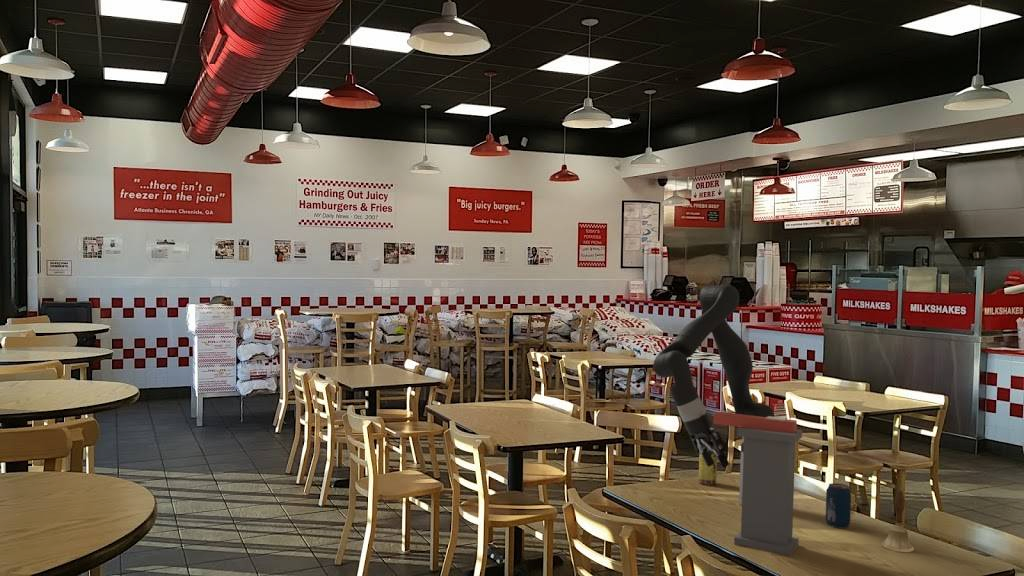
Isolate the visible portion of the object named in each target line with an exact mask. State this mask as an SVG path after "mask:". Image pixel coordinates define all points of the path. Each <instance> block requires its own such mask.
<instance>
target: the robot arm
mask: <svg viewBox="0 0 1024 576" xmlns="http://www.w3.org/2000/svg"><path fill="white" fill-rule="evenodd" d="M699 304H700V307H701V311H702V313H703V314H701V315H700V316H698V317H696V318H695V319H693V320H692V321H690V322H689V323H688V324H686V325H685V326H684V327H683V328H682V329H681V330H680V332H679V333H678V334H677V336H676V337H675V338H674V339H673V340H672V342H671V343H670V344H668V345H667V346H665V348H663V349H662V350H661V351H660V352H659V353H657V355H656V356H655V358H654V360H653V365H652V367H653V372H654V373H655V374H656V375H657V376H658V377H659V378H662V379H663V378H670V377H673V380H674V384H672V385H671V387H670V388H669V392H670V394H671V397H672V399H673V401H674V403H675V406H676V408H677V410H678V413H679V416H680V418H681V420H682V423H683V424H684V427H685V428H686V430H687V433H688V435H689V438H690V440H691V442H692V445H693V448H694V451H695V452H696V453H697V454H701V455H702V456H703V458H704V460H705V462H706V464H707V466H711V465H713V464H714V461H713V459H712V457H711V455H710V453H709V452H708V449H709V450H710V451H713V452H714V453H715V454H716V455H717V461H718V462H719V464H720V465H721V468H726V467H728V466H730V462H729V461H728V458H727V455H726V454H725V452H726V451H728V448H727V446H726V445H725V443H724V440H723V439H722V437H721V435H720V432H719V431H715V432H714V433H712V431H711V430H710V428H712V427H713V425H714V424H713V421H712V419H711V417H710V415H709V413H708V411H707V408H706V407H705V405H704V403H703V401H702V399H701V397H700V396H699V394H698V392H697V390H696V389H697V388H695V386H694V384H693V377H692V373H691V367H690V362H689V360H688V358H690V357H692V356H693V354H695V353H696V351H697V350H698V349H699V347H701V344H702V343H703V342H704V341H705V339H706V338H707V337H708V336H710V335H711V334H712V337H713V340H714V343H715V346H716V349H717V352H718V355H719V359H720V362H721V365H722V368H723V371H724V374H725V377H726V380H727V385H728V388H729V391H730V395H731V398H732V404H733V410H734V414H742V415H751V416H760V417H768V416H772V417H776V416H775V412H774V409H773V408H772V407H771V406H770V405H768V404H765V403H760V402H759V403H758V402H755V401H754V400H753V398H752V395H751V391H750V381H751V377H752V374H753V367H754V366H753V360H752V357H751V354H750V350H749V348H748V345H747V344H746V343H745V342H744V340H743V339H742V338H741V336H740V335H738V334H737V332H736V331H734V329H732V327H731V325H729V323H728V321H727V318H728V317H730V316H731V315H732V314H733V313H735V311H736V310H737V308H738V306H739V304H740V292H739V291H738V290H737V288H736V287H735V286H734V285H731V284H719V285H718V284H717V285H716V284H715V285H705V286H703V287H702V288H701V289H700V291H699ZM743 456H744V441H742V442H741V444H740V463H739V464H740V466H739V470H740V471H739V496H738V500H739V501H738V504H740V505H741V506H742V487H743Z"/></svg>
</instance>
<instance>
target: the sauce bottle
mask: <svg viewBox="0 0 1024 576" xmlns="http://www.w3.org/2000/svg"><path fill="white" fill-rule="evenodd" d="M710 430H711V431H712V433H715V432H716V431H715V428H712V427H711V428H710ZM708 452H709V453H710V455H711V457H712V459H713V461H714V464H713V465H711V466H707V464H706V462H705V460H704V458H703V456H702V455H701V454H700V453H698V454H699V456H698V483H699V484H701V485H703V484H704V485H705V486H715V485H716V484H717V470H718V469H717V468H718V458H717V455H716V454H715V453H714V452H713V451H710V450H709V449H708ZM704 485H703V486H704Z"/></svg>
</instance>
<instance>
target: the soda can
mask: <svg viewBox="0 0 1024 576" xmlns="http://www.w3.org/2000/svg"><path fill="white" fill-rule="evenodd" d="M825 491H826V493H825V495H826V497H825V519H824V520H825V522H826V524H827V525H828V526H829V525H830V526H829V527H831V526H833V527H832V528H835V527H838V528H837V529H847V528H848V527H849V526H850V524H851V511H852V509H851V507H852V503H851V502H852V492H851V490H850V486H849V485H847V484H844V483H829V484H828V486H827V489H826V490H825Z"/></svg>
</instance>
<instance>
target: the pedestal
mask: <svg viewBox="0 0 1024 576" xmlns="http://www.w3.org/2000/svg"><path fill="white" fill-rule="evenodd" d="M737 437H743V442H744V456H743V487H742V505H741V518H740V519H741V525H740V531H739V532H738V533H737V534H736V535H735V536H734V539H733V540H734V541H733V543H734V545H735V544H736V546H740V545H743V546H742V547H745V546H747V547H746V548H750V547H751V549H755V548H756V549H757V550H760V549H761V550H762V551H767V552H770V553H776V554H782V555H787V556H791V555H792V554H793V553H794V551H796V549H797V548H798V546H799V539H800V538H799V537H795V536H793V528H794V527H793V523H794V497H795V496H794V494H795V462H796V459H795V458H796V442H798V441H799V440H801V439H802V438H803V430H802V429H798V428H796V432H795V433H786V432H778V431H769V430H761V429H753V428H744V427H738V428H737ZM756 549H755V550H756Z"/></svg>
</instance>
